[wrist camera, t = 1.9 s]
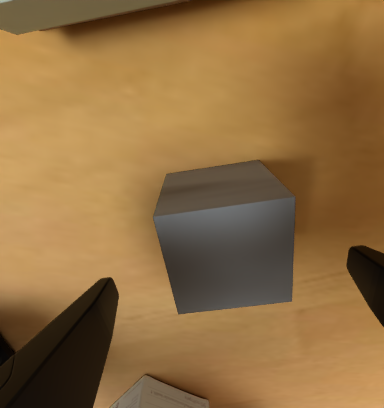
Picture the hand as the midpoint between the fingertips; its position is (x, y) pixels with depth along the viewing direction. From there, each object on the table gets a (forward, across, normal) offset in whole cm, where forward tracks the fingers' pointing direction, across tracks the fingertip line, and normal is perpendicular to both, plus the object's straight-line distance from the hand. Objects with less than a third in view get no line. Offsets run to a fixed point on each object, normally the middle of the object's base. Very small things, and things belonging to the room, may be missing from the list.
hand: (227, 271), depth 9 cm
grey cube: (+5, 0, 0) cm, 5 cm away
